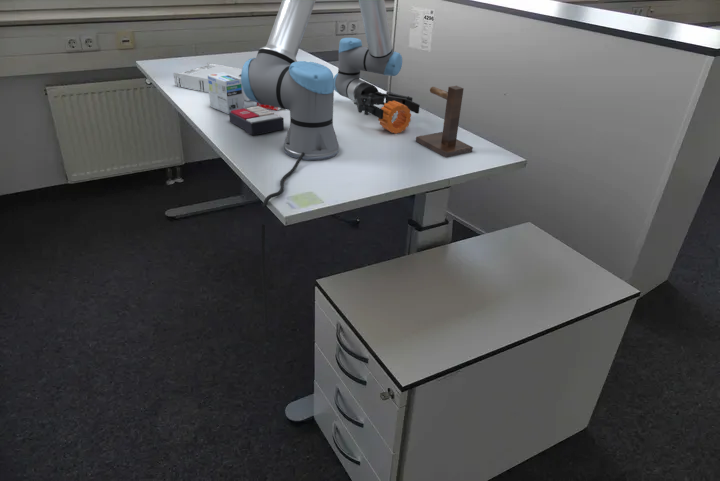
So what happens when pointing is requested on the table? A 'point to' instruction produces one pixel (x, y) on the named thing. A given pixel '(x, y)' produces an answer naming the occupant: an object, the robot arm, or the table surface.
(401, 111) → the tape roll
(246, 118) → the red and black box
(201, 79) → the white cardboard box
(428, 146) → the stand
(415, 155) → the table surface
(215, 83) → the light bulb box
